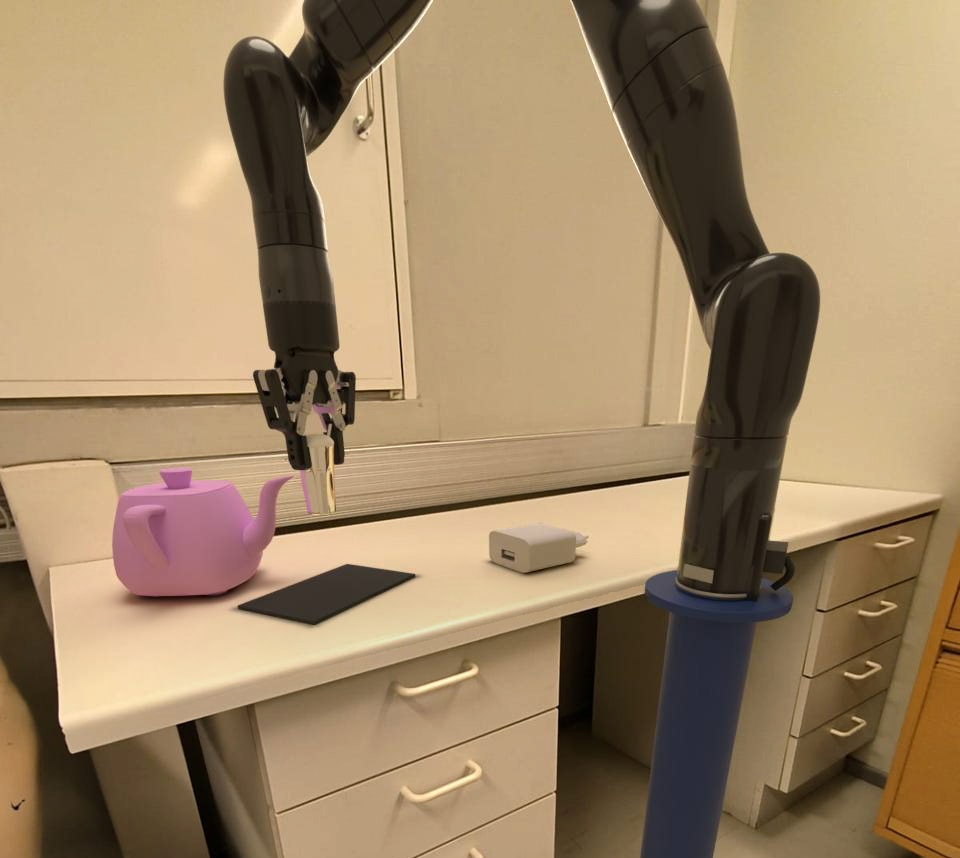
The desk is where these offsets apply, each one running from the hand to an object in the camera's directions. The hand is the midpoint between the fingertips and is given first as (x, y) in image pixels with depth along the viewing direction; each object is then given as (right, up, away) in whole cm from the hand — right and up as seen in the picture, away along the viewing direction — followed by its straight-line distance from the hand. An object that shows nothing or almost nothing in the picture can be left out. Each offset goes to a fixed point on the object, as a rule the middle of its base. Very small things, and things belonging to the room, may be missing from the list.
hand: (319, 466), depth 69 cm
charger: (+29, -9, +19) cm, 36 cm away
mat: (0, -14, +6) cm, 16 cm away
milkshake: (0, -5, +2) cm, 6 cm away
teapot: (-18, -13, +10) cm, 24 cm away
